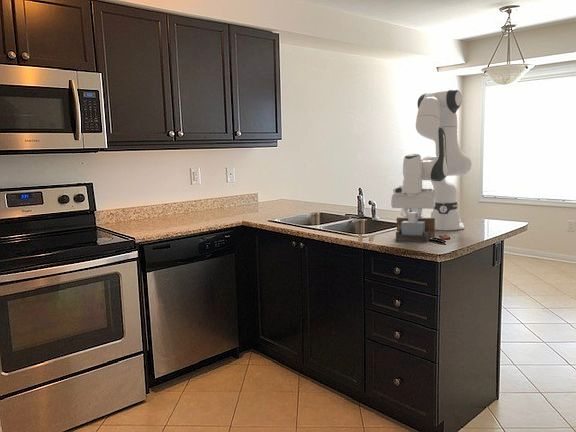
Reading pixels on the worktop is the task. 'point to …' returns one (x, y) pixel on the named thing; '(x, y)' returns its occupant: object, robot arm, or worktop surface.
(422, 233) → the grey stepped block
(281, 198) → the worktop surface
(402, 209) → the spread jar
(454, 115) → the robot arm
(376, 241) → the worktop surface
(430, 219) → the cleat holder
